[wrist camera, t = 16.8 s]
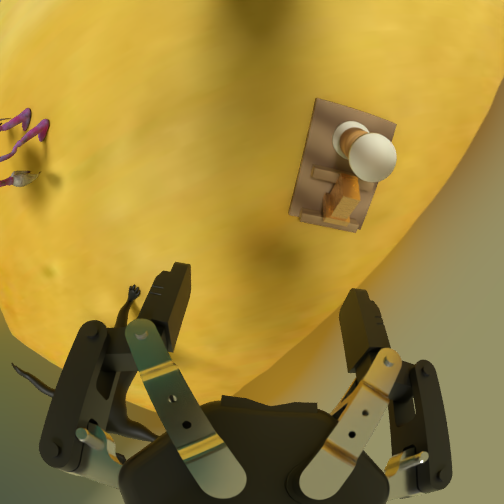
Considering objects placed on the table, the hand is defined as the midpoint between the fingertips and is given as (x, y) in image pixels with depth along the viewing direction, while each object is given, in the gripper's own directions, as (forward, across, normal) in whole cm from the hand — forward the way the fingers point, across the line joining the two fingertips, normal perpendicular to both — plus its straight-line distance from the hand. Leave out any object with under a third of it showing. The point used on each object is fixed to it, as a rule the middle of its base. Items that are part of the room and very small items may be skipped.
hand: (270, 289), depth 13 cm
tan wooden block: (+25, -10, +7) cm, 28 cm away
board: (+28, -10, +1) cm, 30 cm away
